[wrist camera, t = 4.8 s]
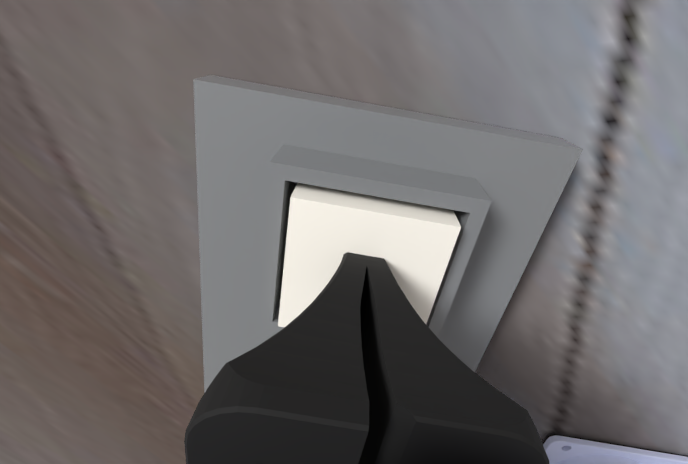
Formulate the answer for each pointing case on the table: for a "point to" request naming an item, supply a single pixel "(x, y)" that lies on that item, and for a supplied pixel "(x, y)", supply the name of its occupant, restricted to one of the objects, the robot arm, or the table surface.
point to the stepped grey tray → (365, 178)
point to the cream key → (363, 244)
